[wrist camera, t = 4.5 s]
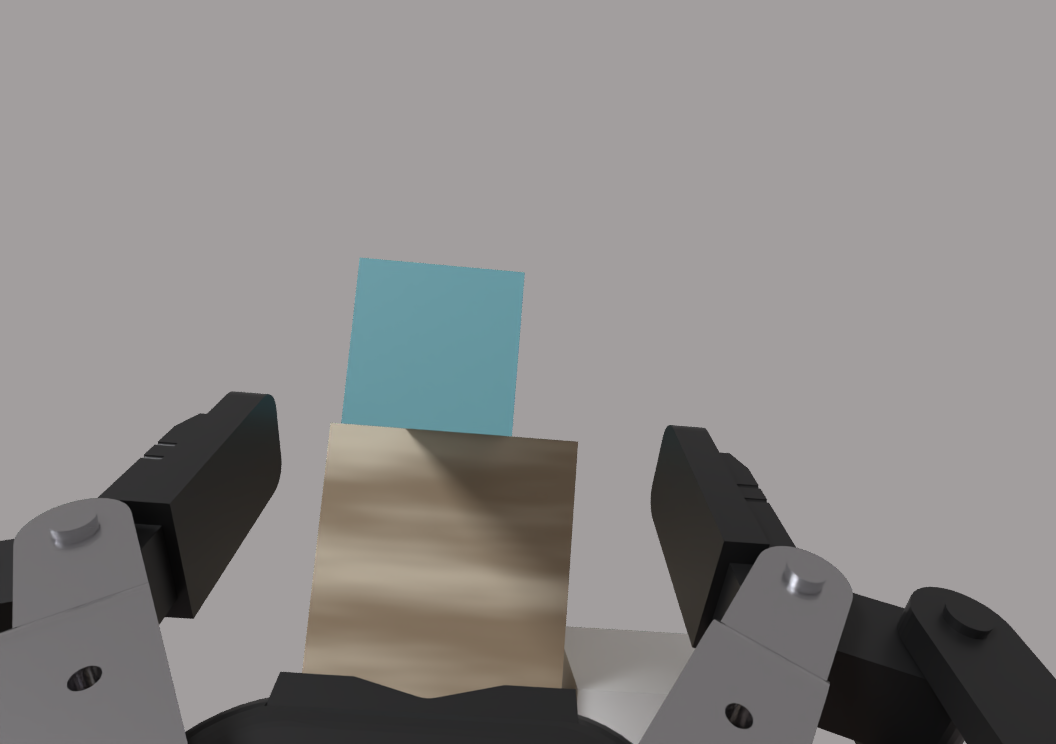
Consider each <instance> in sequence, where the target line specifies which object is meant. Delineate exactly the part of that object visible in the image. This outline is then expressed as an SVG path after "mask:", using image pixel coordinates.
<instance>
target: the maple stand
mask: <svg viewBox="0 0 1056 744" xmlns="http://www.w3.org/2000/svg"><path fill="white" fill-rule="evenodd" d="M577 448H578V442H574V441H561V440H548V439H534V438H522V437H509V436H496V435H483V434H470V433H457V432H444V431H431V430H418V429H405V428H392V427H379V426H366V425H353V424H339V423H331V425H330V434H329V442H328V451H327V460H326V469H325V477H324V486H323V495H322V504H321V513H320V521H319V530H318V539H317V548H316V557H315V565H314V574H313V583H312V592H311V600H310V609H309V618H308V627H307V636H306V644H305V654H304V662H303V671H302V673H308V674H325V675H342V676H355V677H358V678H361V679H364V680H368V681H371V682H374V683H377V684H380V685H383V686H386V687H390V688H393V689H396V690H399V691H402V692H405V693H408V694H412V695H415V696H418V697H422V698H436V697H442V696H447V695H453V694H458V693H464V692H469V691H475V690H480V689H485V688H491V687H496V686H502V685H512V686H529V687H546V688H562V676H563V661H564V645H565V630H566V615H567V600H568V599H567V598H568V585H569V569H570V554H571V539H572V524H573V509H574V508H573V507H574V493H575V479H576V463H577Z"/></svg>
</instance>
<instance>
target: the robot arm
mask: <svg viewBox="0 0 1056 744" xmlns="http://www.w3.org/2000/svg"><path fill="white" fill-rule="evenodd" d="M280 474H281V452H280V441H279V431H278V422H277V412H276V404H275V401H274V398H273V397H272V396H271V395H269V394H258V393H257V394H256V393H245V392H230V393H228V394H227V395H226V396H225V397H224V398H223V399H222V400H221V401H220V402H219V403H218V404H217V405H216V406H215V407H214V408H213V409H212V410H211V411H209V413H207V414H198V415H196V416H194V417H192V418H190V419H188V420H186V421H184V422H182V423H180V424H178V425H176V426H174V427H173V428H172V429H171V430H170V431H169V432H168V433H167V434H166V435H165V436H164V437H163V438H162V439H160V440H159V441H158V445H154V446H153V447H152V448H151V449H150V450H149V451H148V452H146V453H145V454H144V458H140V459H139V460H138V461H137V462H136V463H135V464H134V465H132V466H131V467H130V468H129V469H128V470H127V471H126V472H125V473H124V474H123V475H122V476H121V477H120V478H118V479H117V480H116V481H115V482H114V483H113V484H112V485H111V486H110V487H109V488H108V489H107V490H106V491H104V492H103V493H102V494H101V495H100V496H99V497H98V498H91V499H84V500H78V501H74V502H70V503H67V504H64V505H61V506H58V507H55V508H53V509H50V510H48V511H46V512H44V513H42V514H40V515H39V516H37V517H35V518H34V519H32V520H31V521H30V522H28V523H27V524H26V525H25V526H24V527H23V528H22V529H21V530H20V531H19V532H18V534H17V535H16V537H15V539H11V540H5V541H0V744H633V743H632V742H630V741H629V740H628V739H626V738H625V737H624V736H622V735H621V734H619V733H617V732H616V731H614V730H612V729H611V728H609V727H607V726H606V725H603V724H601V723H599V722H597V721H595V720H592V719H590V718H587V717H584V716H581V715H578V710H577V698H576V689H563V688H546V687H529V686H512V685H502V686H496V687H491V688H485V689H480V690H475V691H469V692H464V693H458V694H453V695H447V696H442V697H436V698H422V697H418V696H415V695H412V694H408V693H405V692H402V691H399V690H396V689H393V688H390V687H386V686H383V685H380V684H377V683H374V682H371V681H368V680H364V679H361V678H358V677H355V676H342V675H325V674H308V673H291V672H280V674H279V676H278V678H277V681H276V683H275V685H274V688H273V690H272V693H271V695H270V697H269V698H265V699H259V700H256V701H253V702H249V703H246V704H242V705H239V706H237V707H234V708H231V709H229V710H226V711H224V712H221V713H219V714H217V715H215V716H213V717H211V718H209V719H207V720H205V721H203V722H201V723H199V724H198V725H196V726H194V727H193V728H191V729H189V730H188V731H186V732H185V730H184V726H183V722H182V718H181V714H180V710H179V706H178V702H177V698H176V694H175V689H174V685H173V681H172V677H171V673H170V669H169V665H168V661H167V657H166V652H165V648H164V644H163V640H162V636H161V632H160V627H159V624H160V623H161V621H162V620H163V618H164V617H174V618H190V619H191V618H192V619H193V618H194V617H195V615H196V614H197V612H198V611H199V609H200V608H201V606H202V604H203V603H204V601H205V600H206V598H207V597H208V595H209V594H210V592H211V590H212V589H213V587H214V586H215V584H216V583H217V581H218V579H219V578H220V576H221V575H222V573H223V572H224V570H225V568H226V567H227V565H228V564H229V562H230V561H231V559H232V558H233V556H234V554H235V553H236V551H237V550H238V548H239V546H240V545H241V543H242V542H243V540H244V539H245V537H246V536H247V534H248V533H249V531H250V529H251V528H252V526H253V525H254V523H255V522H256V520H257V518H258V517H259V515H260V514H261V512H262V511H263V509H264V508H265V506H266V504H267V503H268V501H269V500H270V498H271V497H272V495H273V493H274V492H275V490H276V488H277V485H278V482H279V479H280ZM651 512H652V518H653V521H654V524H655V527H656V531H657V534H658V537H659V541H660V544H661V547H662V550H663V554H664V557H665V560H666V563H667V567H668V570H669V573H670V577H671V580H672V583H673V586H674V590H675V593H676V596H677V600H678V603H679V606H680V610H681V613H682V616H683V619H684V623H685V626H686V629H687V632H688V636H689V639H690V642H691V646H692V648H696V649H695V650H694V652H693V654H692V655H691V657H690V659H689V660H688V662H687V664H686V665H685V667H684V669H683V670H682V672H681V674H680V675H679V677H678V679H677V680H676V682H675V684H674V685H673V687H672V689H671V690H670V692H669V694H668V695H667V697H666V699H665V700H664V702H663V704H662V705H661V707H660V709H659V710H658V712H657V714H656V715H655V717H654V719H653V720H652V722H651V723H650V725H649V727H648V728H647V730H646V732H645V733H644V735H643V737H642V738H641V740H640V742H639V743H638V744H812V742H813V739H814V736H815V732H816V729H817V727H818V728H821V729H824V730H827V731H829V732H832V733H835V734H838V735H841V736H843V737H846V738H849V739H852V740H854V741H855V743H856V744H963V742H964V741H965V742H966V743H967V744H1056V679H1055V678H1054V677H1053V675H1052V674H1051V673H1050V672H1049V671H1048V669H1046V667H1045V666H1044V665H1043V664H1042V663H1041V661H1040V660H1039V659H1038V658H1037V657H1036V655H1035V654H1034V653H1033V652H1032V651H1031V650H1030V648H1029V647H1028V646H1027V645H1026V644H1025V643H1024V642H1023V640H1022V639H1021V638H1020V637H1019V636H1018V635H1017V633H1016V632H1015V631H1014V630H1013V629H1012V628H1011V626H1009V624H1008V623H1007V622H1006V621H1004V620H1003V619H1002V618H1001V617H1000V616H999V615H998V614H996V613H995V612H993V611H992V610H991V609H989V608H988V607H986V606H985V605H983V604H981V603H979V602H978V601H976V600H974V599H972V598H970V597H967V596H965V595H963V594H960V593H958V592H955V591H952V590H948V589H944V588H938V587H924V588H920V589H917V590H916V591H915V592H913V594H912V595H911V597H910V599H909V601H908V603H907V605H906V607H905V608H901V607H898V606H895V605H891V604H888V603H884V602H881V601H878V600H874V599H871V598H868V597H864V596H861V595H858V594H855V593H852V589H851V586H850V584H849V582H848V581H847V579H846V578H845V577H844V575H843V574H842V573H841V572H840V571H839V570H838V569H837V568H836V567H834V566H833V565H832V564H830V563H829V562H828V561H826V560H824V559H823V558H821V557H819V556H817V555H815V554H813V553H811V552H808V551H806V550H802V549H799V548H796V547H795V545H794V543H793V542H792V540H791V539H790V537H789V535H788V533H787V532H786V530H785V529H784V527H783V525H782V524H781V522H780V520H779V519H778V517H777V515H776V514H775V512H774V510H773V509H772V507H771V506H770V504H769V503H767V499H766V497H765V496H764V494H763V493H762V491H761V489H758V484H757V482H756V481H755V479H754V478H753V476H752V474H751V472H750V471H749V469H748V468H747V467H746V466H744V465H743V464H742V463H741V462H739V461H738V460H737V459H736V458H735V457H733V456H732V455H731V454H730V453H719V451H718V449H717V448H716V446H715V444H714V442H713V440H712V438H711V437H710V435H709V433H708V431H707V430H706V429H705V428H699V427H687V426H674V425H669V426H667V428H666V429H665V432H664V435H663V440H662V444H661V448H660V453H659V458H658V462H657V467H656V472H655V476H654V481H653V485H652V491H651Z"/></svg>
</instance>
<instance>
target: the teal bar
mask: <svg viewBox="0 0 1056 744" xmlns="http://www.w3.org/2000/svg"><path fill="white" fill-rule="evenodd" d="M524 275H525V273H524V272H523V273H522V272H513V271H502V270H490V269H480V268H467V267H457V266H446V265H435V264H424V263H413V262H402V261H391V260H379V259H369V258H360V261H359V271H358V279H357V288H356V297H355V307H354V315H353V324H352V333H351V341H350V350H349V359H348V369H347V377H346V386H345V396H344V404H343V414H342V422H341V423H344V424H356V425H368V426H380V427H393V428H405V429H418V430H431V431H444V432H457V433H470V434H483V435H496V436H512V427H513V413H514V402H515V401H514V400H515V388H516V375H517V363H518V350H519V337H520V325H521V313H522V299H523V286H524Z"/></svg>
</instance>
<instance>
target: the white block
mask: <svg viewBox="0 0 1056 744" xmlns="http://www.w3.org/2000/svg"><path fill="white" fill-rule="evenodd" d="M695 649H696V648H692V646H691V642H690V639H689V636H688V634H681V633H664V632H663V633H662V632H648V631H632V630H615V629H599V628H582V627H566V630H565V645H564V661H563V676H562V688H563V689H576V698H577V710H578V715H581V716H584V717H587V718H590V719H592V720H595V721H597V722H599V723H601V724H603V725H606V726H607V727H609V728H611V729H612V730H614V731H616V732H617V733H619V734H621V735H622V736H624V737H625V738H626V739H628V740H629V741H630V742H632V743H633V744H638V743H639V742H640V740H641V738H642V737H643V735H644V733H645V732H646V730H647V728H648V727H649V725H650V723H651V722H652V720H653V719H654V717H655V715H656V714H657V712H658V710H659V709H660V707H661V705H662V704H663V702H664V700H665V699H666V697H667V695H668V694H669V692H670V690H671V689H672V687H673V685H674V684H675V682H676V680H677V679H678V677H679V675H680V674H681V672H682V670H683V669H684V667H685V665H686V664H687V662H688V660H689V659H690V657H691V655H692V654H693V652H694V650H695Z"/></svg>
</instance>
